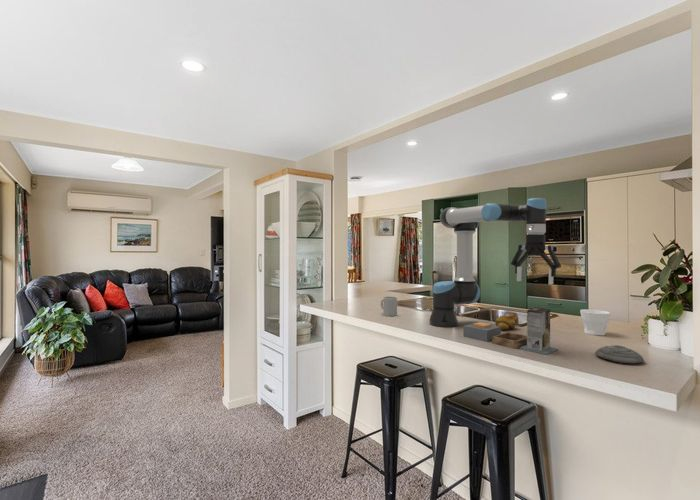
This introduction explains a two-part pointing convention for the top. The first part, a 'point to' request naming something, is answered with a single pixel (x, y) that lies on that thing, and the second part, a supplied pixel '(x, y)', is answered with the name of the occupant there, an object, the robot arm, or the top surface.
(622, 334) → the top surface
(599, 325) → the cup
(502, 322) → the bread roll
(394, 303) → the mug
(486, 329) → the button housing
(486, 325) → the release button
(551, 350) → the slate mat
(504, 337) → the wooden tray
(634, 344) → the top surface
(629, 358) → the grey flat stone
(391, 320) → the top surface
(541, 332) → the coffee box
